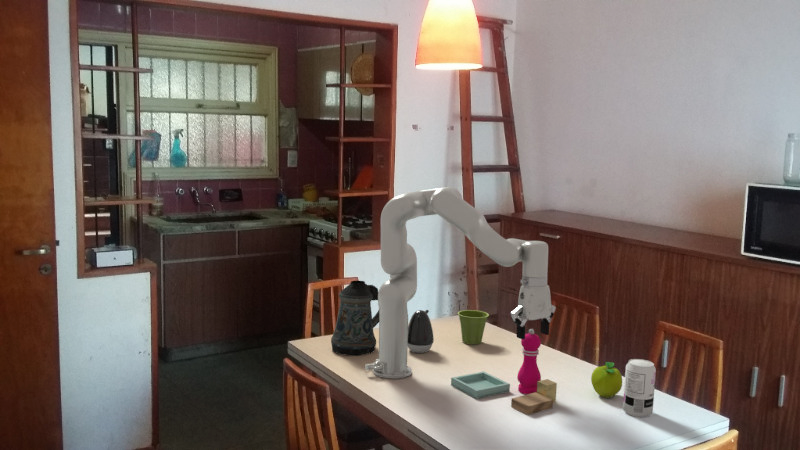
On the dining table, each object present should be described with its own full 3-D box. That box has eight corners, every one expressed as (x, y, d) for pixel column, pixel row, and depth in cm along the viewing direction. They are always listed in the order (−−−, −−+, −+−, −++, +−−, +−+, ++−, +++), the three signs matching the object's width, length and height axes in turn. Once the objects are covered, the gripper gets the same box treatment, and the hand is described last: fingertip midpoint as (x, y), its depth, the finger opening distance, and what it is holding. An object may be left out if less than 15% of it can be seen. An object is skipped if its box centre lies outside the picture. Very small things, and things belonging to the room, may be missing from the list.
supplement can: (618, 407, 213) (621, 358, 211) (645, 407, 213) (649, 358, 211) (629, 418, 205) (633, 367, 203) (657, 418, 205) (661, 367, 203)
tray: (476, 398, 216) (476, 390, 216) (451, 385, 227) (451, 377, 227) (509, 391, 223) (509, 383, 223) (483, 378, 234) (483, 371, 234)
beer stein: (321, 348, 261) (322, 281, 258) (358, 338, 276) (360, 274, 272) (353, 359, 250) (355, 289, 247) (391, 347, 265) (392, 281, 261)
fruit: (621, 392, 225) (623, 361, 223) (620, 403, 216) (622, 371, 215) (591, 388, 228) (593, 358, 226) (589, 398, 219) (591, 367, 218)
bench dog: (545, 404, 213) (546, 385, 212) (536, 400, 216) (537, 381, 216) (555, 402, 215) (556, 383, 214) (546, 398, 218) (547, 379, 218)
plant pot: (489, 347, 268) (490, 318, 267) (457, 346, 268) (458, 317, 267) (485, 338, 280) (487, 310, 279) (455, 337, 280) (456, 309, 279)
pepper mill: (540, 396, 220) (543, 333, 217) (516, 394, 221) (519, 331, 218) (540, 388, 227) (543, 326, 224) (517, 386, 228) (520, 324, 225)
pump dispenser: (438, 350, 263) (440, 309, 261) (424, 357, 255) (425, 315, 253) (414, 345, 269) (416, 305, 267) (399, 351, 260) (401, 310, 258)
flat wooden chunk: (528, 416, 205) (528, 406, 205) (511, 408, 211) (511, 398, 210) (552, 409, 211) (553, 399, 210) (535, 401, 216) (535, 392, 216)
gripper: (521, 286, 211) (519, 343, 214) (564, 280, 220) (562, 335, 223) (504, 282, 218) (503, 337, 220) (547, 276, 227) (545, 329, 229)
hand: (532, 336), depth 221 cm, fingers open, 9 cm apart
